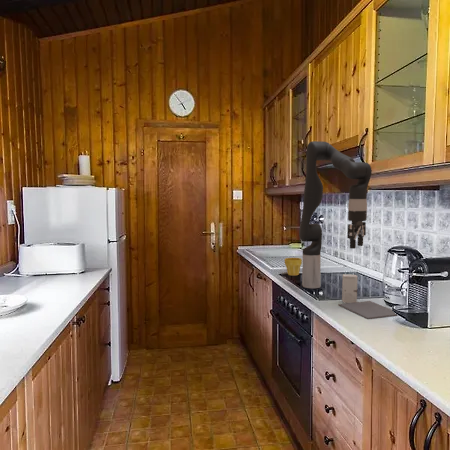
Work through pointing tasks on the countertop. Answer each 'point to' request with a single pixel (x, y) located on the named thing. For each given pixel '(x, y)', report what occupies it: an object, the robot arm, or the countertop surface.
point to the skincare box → (349, 288)
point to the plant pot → (293, 265)
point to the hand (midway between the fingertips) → (356, 247)
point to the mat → (368, 309)
